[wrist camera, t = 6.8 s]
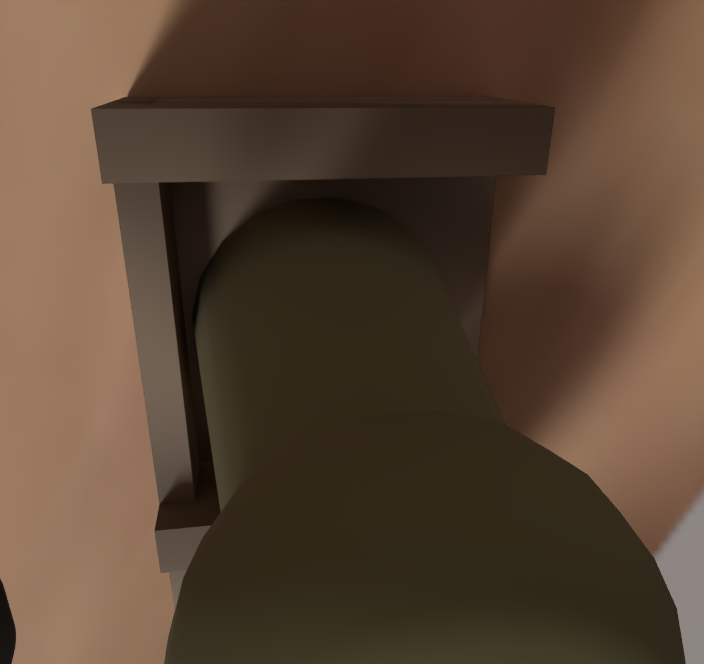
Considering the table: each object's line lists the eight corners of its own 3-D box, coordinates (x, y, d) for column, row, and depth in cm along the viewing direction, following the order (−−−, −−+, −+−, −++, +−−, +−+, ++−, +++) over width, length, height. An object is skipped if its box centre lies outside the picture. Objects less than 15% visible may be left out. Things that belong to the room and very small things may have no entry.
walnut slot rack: (438, 667, 22) (469, 764, 19) (203, 699, 21) (196, 807, 18) (490, 96, 14) (554, 107, 11) (125, 97, 13) (90, 108, 10)
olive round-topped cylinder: (157, 229, 14) (-86, 699, 4) (427, 170, 14) (880, 447, 4) (230, 455, 16) (205, 1100, 6) (456, 400, 16) (780, 922, 7)
